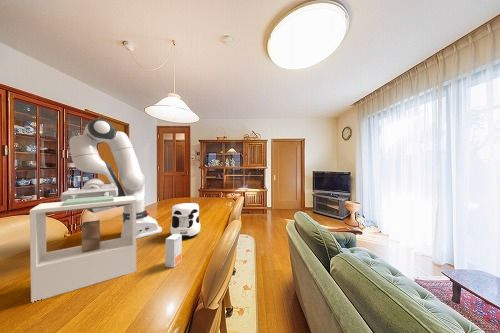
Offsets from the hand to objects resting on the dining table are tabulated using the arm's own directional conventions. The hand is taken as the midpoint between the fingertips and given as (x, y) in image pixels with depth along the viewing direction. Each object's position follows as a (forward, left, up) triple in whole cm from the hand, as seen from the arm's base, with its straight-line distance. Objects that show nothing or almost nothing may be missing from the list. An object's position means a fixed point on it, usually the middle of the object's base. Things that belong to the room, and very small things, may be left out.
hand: (89, 198), depth 82 cm
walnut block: (-1, +14, -18) cm, 22 cm away
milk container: (-44, -7, -29) cm, 53 cm away
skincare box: (-29, +23, -29) cm, 47 cm away
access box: (-1, +14, -29) cm, 32 cm away
